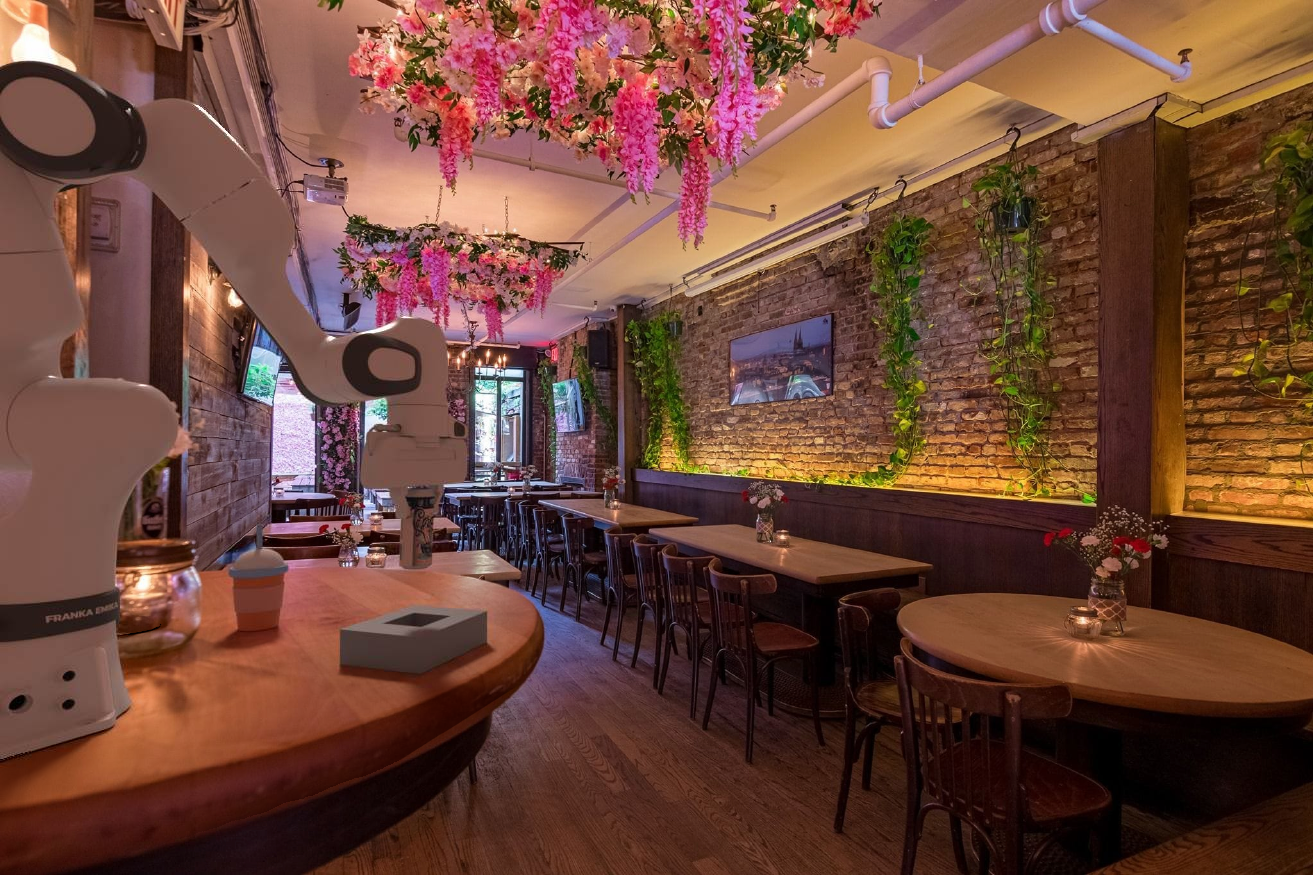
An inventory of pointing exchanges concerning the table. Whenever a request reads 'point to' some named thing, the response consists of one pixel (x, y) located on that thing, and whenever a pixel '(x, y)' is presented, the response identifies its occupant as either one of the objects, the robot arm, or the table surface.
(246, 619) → the cup with straw
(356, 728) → the table surface
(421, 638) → the holder block
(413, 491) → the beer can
